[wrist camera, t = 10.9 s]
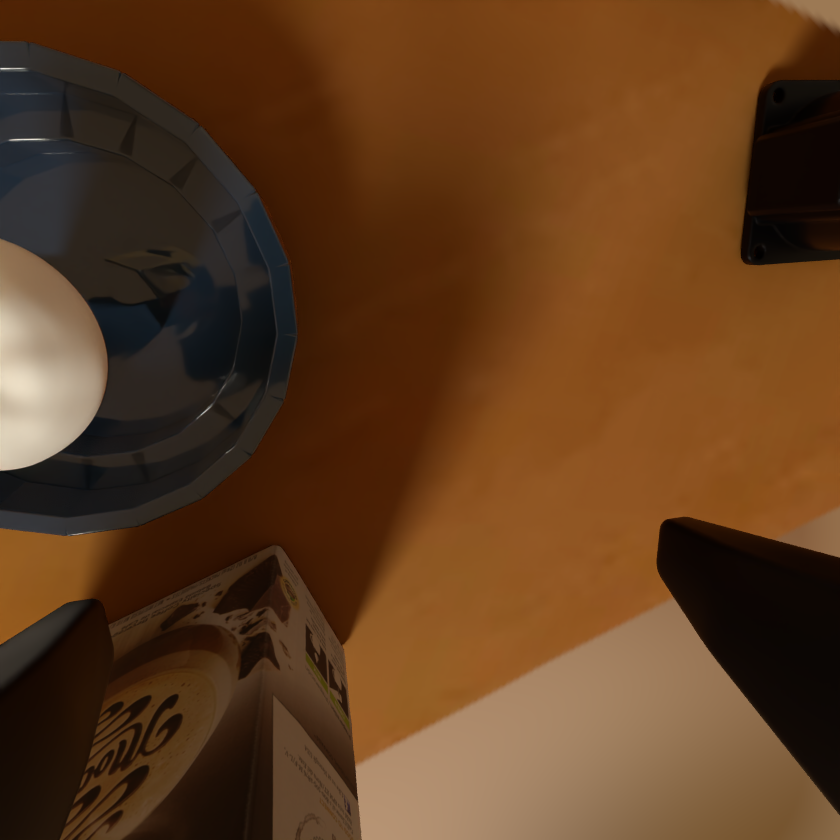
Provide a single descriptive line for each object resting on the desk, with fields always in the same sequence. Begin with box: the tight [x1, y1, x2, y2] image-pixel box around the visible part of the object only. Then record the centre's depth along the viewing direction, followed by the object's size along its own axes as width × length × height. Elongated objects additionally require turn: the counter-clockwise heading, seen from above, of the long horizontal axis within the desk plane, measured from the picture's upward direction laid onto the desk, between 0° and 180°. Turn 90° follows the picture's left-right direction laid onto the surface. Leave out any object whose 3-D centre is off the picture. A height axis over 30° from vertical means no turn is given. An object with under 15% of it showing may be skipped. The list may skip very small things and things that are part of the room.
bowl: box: [0, 41, 298, 536], centre depth 16 cm, size 12×12×4 cm
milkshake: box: [0, 238, 162, 471], centre depth 13 cm, size 4×5×10 cm
